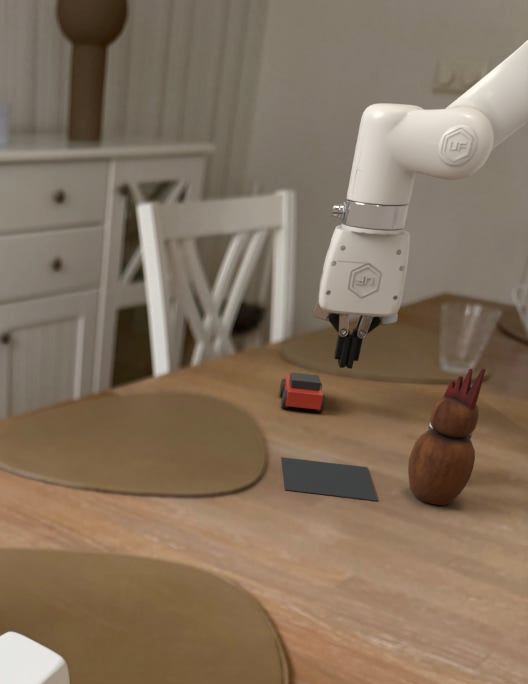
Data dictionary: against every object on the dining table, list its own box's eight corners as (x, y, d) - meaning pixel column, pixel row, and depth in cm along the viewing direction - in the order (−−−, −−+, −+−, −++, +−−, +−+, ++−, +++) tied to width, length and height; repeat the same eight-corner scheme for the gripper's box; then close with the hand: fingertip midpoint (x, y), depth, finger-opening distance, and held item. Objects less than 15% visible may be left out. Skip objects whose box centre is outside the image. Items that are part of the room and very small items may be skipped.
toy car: (328, 387, 129) (286, 382, 129) (322, 415, 131) (281, 410, 131) (323, 370, 135) (283, 366, 136) (317, 397, 137) (278, 392, 138)
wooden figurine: (469, 511, 106) (512, 374, 98) (418, 510, 105) (457, 372, 97) (442, 486, 111) (481, 355, 103) (394, 485, 111) (429, 352, 103)
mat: (367, 467, 115) (367, 467, 115) (377, 501, 107) (377, 500, 107) (281, 457, 116) (281, 457, 116) (285, 490, 108) (285, 489, 108)
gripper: (315, 217, 119) (289, 368, 128) (442, 226, 117) (406, 378, 127) (310, 209, 125) (286, 353, 135) (431, 217, 123) (398, 362, 133)
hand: (344, 365), depth 131 cm, fingers closed
